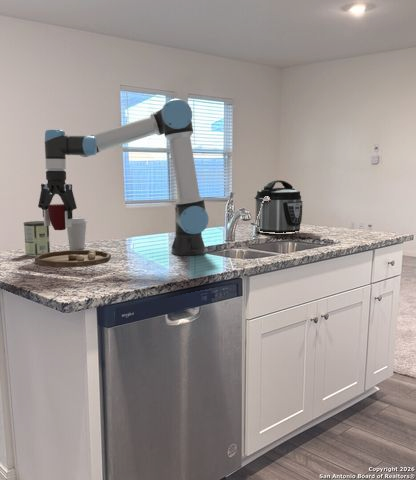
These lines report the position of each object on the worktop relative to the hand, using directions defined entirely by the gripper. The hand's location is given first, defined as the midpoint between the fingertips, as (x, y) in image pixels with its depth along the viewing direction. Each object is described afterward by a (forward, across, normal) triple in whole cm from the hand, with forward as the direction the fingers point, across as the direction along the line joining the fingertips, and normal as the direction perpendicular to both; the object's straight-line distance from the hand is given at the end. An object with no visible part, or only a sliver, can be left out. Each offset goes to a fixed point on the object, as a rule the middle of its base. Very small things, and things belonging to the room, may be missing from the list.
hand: (57, 226), depth 189 cm
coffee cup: (+14, +11, -24) cm, 30 cm away
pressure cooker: (+14, -51, -132) cm, 142 cm away
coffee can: (+14, +19, -8) cm, 25 cm away
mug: (+1, 0, 0) cm, 1 cm away
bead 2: (+13, -11, -7) cm, 18 cm away
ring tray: (+14, -8, 0) cm, 16 cm away
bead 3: (+13, -15, -2) cm, 20 cm away
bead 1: (+13, -14, +4) cm, 19 cm away
